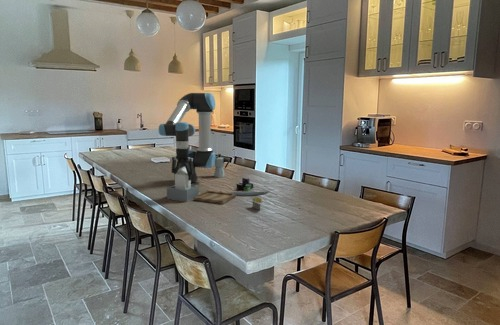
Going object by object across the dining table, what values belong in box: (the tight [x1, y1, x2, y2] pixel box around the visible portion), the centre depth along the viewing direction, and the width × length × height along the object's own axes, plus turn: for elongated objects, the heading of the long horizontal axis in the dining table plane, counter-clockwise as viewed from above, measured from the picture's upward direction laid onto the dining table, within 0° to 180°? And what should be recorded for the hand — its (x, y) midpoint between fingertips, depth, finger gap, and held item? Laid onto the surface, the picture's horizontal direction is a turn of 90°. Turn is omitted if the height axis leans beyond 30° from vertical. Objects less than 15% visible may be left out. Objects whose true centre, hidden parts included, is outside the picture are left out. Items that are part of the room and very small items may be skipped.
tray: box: [193, 190, 237, 205], centre depth 218 cm, size 20×18×2 cm
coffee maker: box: [213, 153, 230, 178], centre depth 281 cm, size 15×9×18 cm, turn 68°
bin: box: [166, 184, 200, 202], centre depth 219 cm, size 14×14×7 cm
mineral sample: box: [219, 177, 269, 197], centre depth 242 cm, size 35×35×9 cm
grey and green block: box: [250, 196, 264, 211], centre depth 199 cm, size 12×18×7 cm, turn 31°
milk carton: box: [174, 167, 192, 190], centre depth 218 cm, size 7×7×19 cm
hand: (183, 184), depth 218 cm, fingers closed on milk carton, 7 cm apart
